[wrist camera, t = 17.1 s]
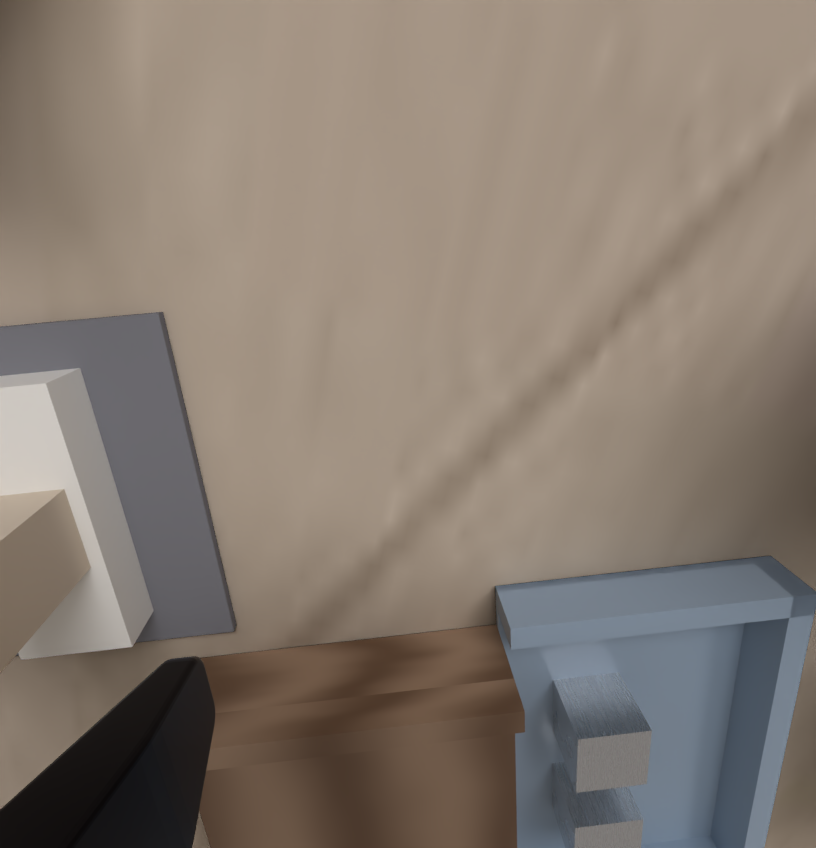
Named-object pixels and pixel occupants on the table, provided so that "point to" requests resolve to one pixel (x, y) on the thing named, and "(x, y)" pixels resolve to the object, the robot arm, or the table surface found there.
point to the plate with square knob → (61, 527)
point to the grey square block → (594, 814)
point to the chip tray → (667, 688)
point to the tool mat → (142, 457)
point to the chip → (600, 732)
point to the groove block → (365, 744)
